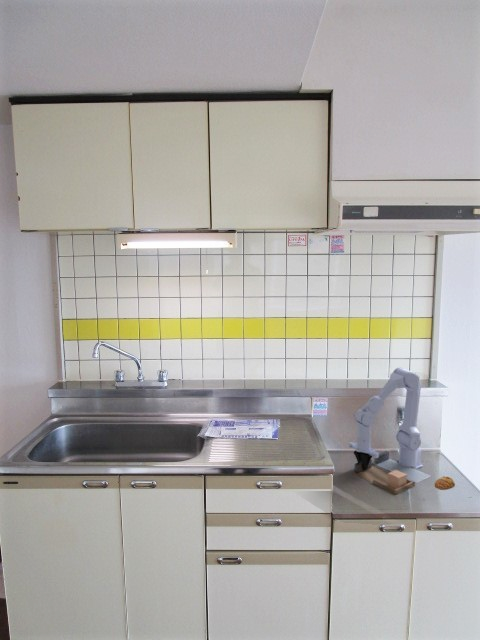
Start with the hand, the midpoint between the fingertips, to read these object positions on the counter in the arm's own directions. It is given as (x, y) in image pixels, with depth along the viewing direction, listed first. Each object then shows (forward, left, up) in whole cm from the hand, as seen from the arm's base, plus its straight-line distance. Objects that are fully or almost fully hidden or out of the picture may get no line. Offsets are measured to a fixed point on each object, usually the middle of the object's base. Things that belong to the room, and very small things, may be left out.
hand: (363, 468), depth 185 cm
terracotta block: (0, +17, -1) cm, 17 cm away
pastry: (-16, +27, -3) cm, 32 cm away
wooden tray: (0, +10, -2) cm, 10 cm away
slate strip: (-13, +9, -2) cm, 16 cm away
